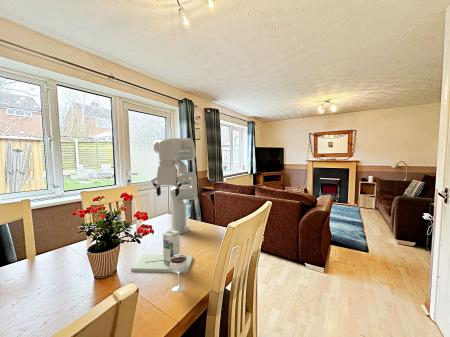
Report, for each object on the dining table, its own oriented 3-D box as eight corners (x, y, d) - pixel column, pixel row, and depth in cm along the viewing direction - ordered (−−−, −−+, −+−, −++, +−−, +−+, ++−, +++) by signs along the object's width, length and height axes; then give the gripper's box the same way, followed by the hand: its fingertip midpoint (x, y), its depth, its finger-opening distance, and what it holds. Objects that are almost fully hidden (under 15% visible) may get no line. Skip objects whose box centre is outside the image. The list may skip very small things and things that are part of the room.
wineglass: (174, 296, 73) (173, 265, 72) (167, 286, 78) (166, 258, 77) (190, 289, 77) (190, 260, 76) (183, 280, 82) (182, 252, 81)
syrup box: (162, 262, 93) (162, 233, 92) (171, 257, 98) (170, 229, 97) (172, 266, 90) (171, 235, 89) (180, 259, 95) (179, 231, 94)
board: (143, 257, 101) (143, 254, 101) (193, 258, 99) (193, 255, 99) (131, 271, 89) (131, 267, 89) (187, 272, 88) (187, 269, 87)
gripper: (185, 163, 105) (185, 193, 107) (153, 162, 106) (154, 193, 108) (181, 164, 98) (182, 197, 100) (147, 164, 98) (149, 197, 100)
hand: (168, 195), depth 104 cm, fingers open, 9 cm apart
